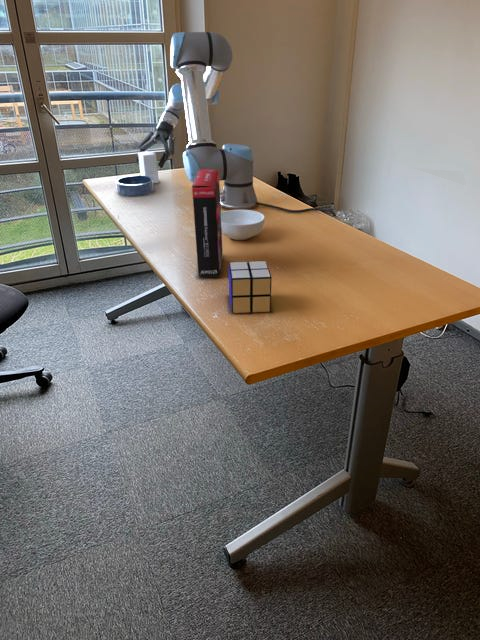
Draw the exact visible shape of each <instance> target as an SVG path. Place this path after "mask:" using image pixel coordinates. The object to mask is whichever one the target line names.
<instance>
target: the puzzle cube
mask: <svg viewBox="0 0 480 640" xmlns="http://www.w3.org/2000/svg"><path fill="white" fill-rule="evenodd" d="M272 281H273V280H272V275H271V272H270V268H269V265H268V262H267V261H266V260H265V261H263V260H262V261H261V260H260V261H259V260H258V261H248V262H247V261H235V262H234V261H233V262H229V263H228V296H229V303H230V310H231V314H233V315H234V314H250V313H252V314H254V313H256V314H257V313H270V312H271V311H272V295H271V294H272Z"/></svg>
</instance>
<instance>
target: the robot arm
mask: <svg viewBox="0 0 480 640" xmlns="http://www.w3.org/2000/svg"><path fill="white" fill-rule="evenodd" d="M169 52H170V53H169V56H170V57H169V60H170V67H171V68H172V69H175V73H176V75H177V76H178V77H179V78H180V80H181V81H180V82H181V83H178V82H177V83H175V84H173V85H172V86H171V88H170V91H169V94H168V95H169V96H168V100H167V104H166V107H165V109H164V111H163V113H162V115H161V117H160V119H159V121H158V124H157V125H156V131H155V132H153V131H152V130H150V131H149V133H148V134H147V136H145V137H144V139H142V140H141V142H140V143H139V144H138V145H137V149H139V150H138V152H145V151H148V149H150V148H151V147H153V146H154V145H157V144H162V145H163V148H164V152H163V153H162V154H161V157H160V159H159V161H158V162H157V166H158V167H159V168H160V169H163V168H164V166H165V164H166V162H167V161H168V159H169V158H170V156H174V155H175V140H176V136H175V135H174V131H175V128H176V126H177V124H178V123H179V120H180V118H181V116H182V114H183V112H184V113H185V120H186V128H187V134H188V135H187V136H188V141H189V142H188V144H187V145H186V147H185V151H184V152H183V153H182V162H183V167H184V170H185V174H186V177H187V178H188V180H189V181H190V182H191V183H193V182H194V179H195V176H196V173H197V172H198V170H217V171H219V182H222V181H223V187H222V190H221V192H220V207H221V208H222V209H225V210H228V211H229V210H252V209H254V208H256V207H257V206H262V207H265V208H266V207H267V208H271V209H276V210H280V211H283V212H285V213H304V212H310V211H311V212H313V211H315V212H317V211H318V212H329V214H331V215H332V216H333V217H334V218H337V217H338V216H337V214H336V213H335V212H334V211H333V210H332V209H330V208H326V207H323V208H321V207H309V208H304V209H303V208H302V209H288V208H285V207H281V206H276V205H272V204H269V203H263V202H258V198H257V195H256V191H255V187H254V151H253V149H252V148H251V147H250V146H247V145H243V144H237V143H224V144H223V145H222V148H218V147H217V143H216V142H215V141H214V140H212V131H211V122H210V116H209V115H210V114H209V106H211V105H217V104H218V103H219V99H220V92H219V86H220V84H221V81H222V79H223V77H224V74H225V72H226V71H227V70H228V69H229V68H230V67H231V64H232V62H233V49H232V47H231V45H230V42H229V41H228V40H227V39H226V37H224V36H223V35H221V34H220V33H218V32H216V31H181V32H179V31H178V32H174V33H173V34H172V36H171V40H170V50H169ZM135 162H136V164H138V165H139V155H138V154H137V156H136V158H135Z"/></svg>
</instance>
